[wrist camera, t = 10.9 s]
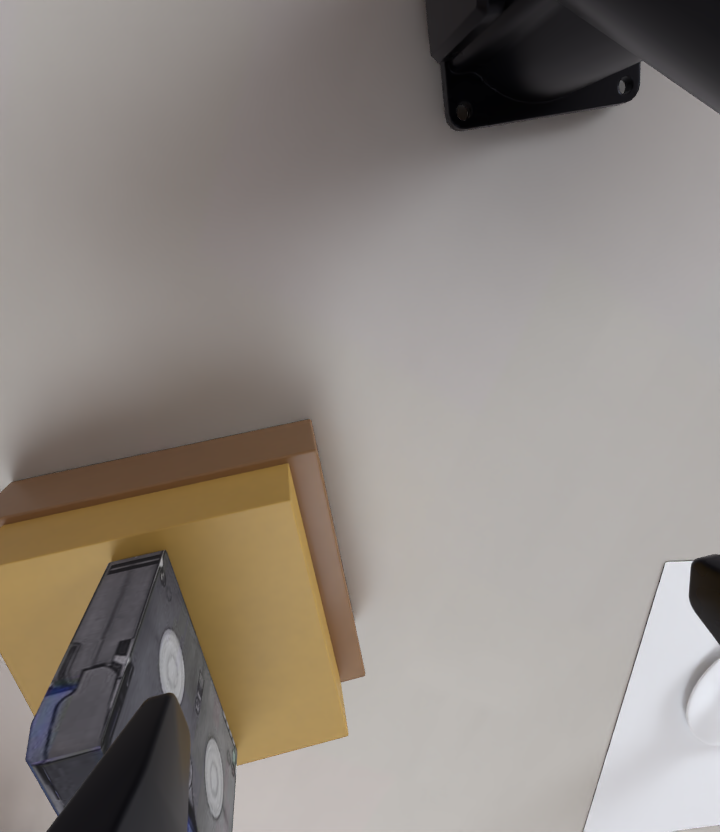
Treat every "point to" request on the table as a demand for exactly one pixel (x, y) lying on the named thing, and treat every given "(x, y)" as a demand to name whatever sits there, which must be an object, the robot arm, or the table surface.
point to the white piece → (666, 725)
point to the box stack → (197, 574)
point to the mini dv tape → (134, 690)
